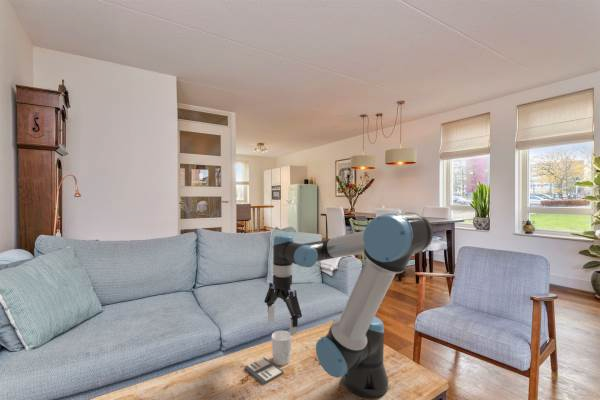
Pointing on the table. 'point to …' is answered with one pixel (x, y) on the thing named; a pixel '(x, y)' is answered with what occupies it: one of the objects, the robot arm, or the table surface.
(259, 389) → the table surface
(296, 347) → the table surface
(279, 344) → the white cup
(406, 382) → the table surface
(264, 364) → the label board
